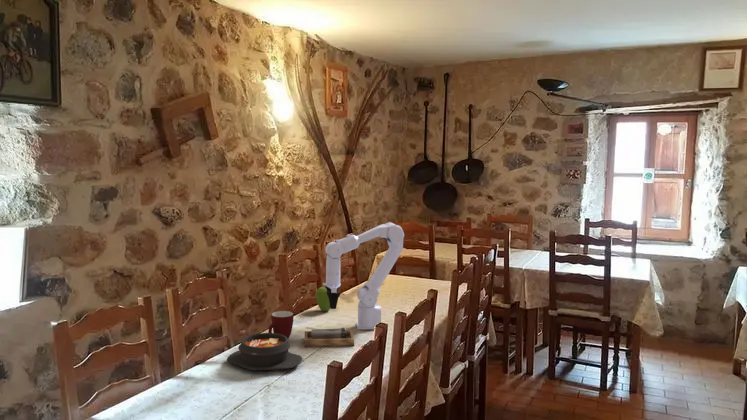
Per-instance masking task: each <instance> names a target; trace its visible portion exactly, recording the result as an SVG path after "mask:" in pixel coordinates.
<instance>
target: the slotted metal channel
mask: <svg viewBox="0 0 747 420" xmlns="http://www.w3.org/2000/svg"><path fill="white" fill-rule="evenodd" d="M310 331H311V339H343V338H346V337H347V328H346V327H341V328H314V329H313V328H311V330H310Z"/></svg>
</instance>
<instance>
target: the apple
mask: <svg viewBox="0 0 747 420" xmlns="http://www.w3.org/2000/svg"><path fill="white" fill-rule="evenodd" d="M326 291H327V289H326V286H320V287H319V288H317V290H316V292H315V296H316V297H315V299H316V303H317V305H318V308H319V309H320V311H321V312H329V311H330V310H331V308H330V303H329V298H328V295H327V293H326Z"/></svg>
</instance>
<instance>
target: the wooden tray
mask: <svg viewBox="0 0 747 420" xmlns="http://www.w3.org/2000/svg"><path fill="white" fill-rule="evenodd" d="M346 330H347V329H346ZM324 347H325V348H326V347H327V348H329V347H332V348H333V347H355V337H354V333H353V330H351V329H350V330H347V337H346V338H343V339H311V330H306V331H305V330H304V348H324Z"/></svg>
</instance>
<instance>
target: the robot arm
mask: <svg viewBox="0 0 747 420" xmlns="http://www.w3.org/2000/svg"><path fill="white" fill-rule="evenodd" d="M376 238H384V239H386V241H387V244H388V249H387V251H386V253H385V254H384V255H383V257H382V259H381V260H380V262H379V264H378V265H377V267H376V269H375V270H374V272H373V274H371V275H372V276H371V277H370V279H368V281H366V282H365V283H364V285H362V286H361V287H360V288H359V289H358V290H357V292H356V297H357V299H358V300H359V301H358V304H357V322H355V325H356V328H357V330H358V331H359V330H360V331H361V330H362V331H363V330H375V329H374V327H375V325H376V324H377V323H380V322H381V323H382V307H381V305H379V304H378V305H377V303H378V298H379V295H380V293H381V287H382V285H383V283H384V282H385V281H386V279H387V277H388V275H389V274H390V272H391V270H393V268H394V267H393V266H394V265H395V264H396V262H397V261H398V258H399V257H400V256H401V254H402V253H403V250H404V238H405V232H404V230H403V228H402V227H401V225H398V224H395V223H393V222H391V221H389V222H386V223H385V224H384V223H383V224H382V223H381V224H379V225H377V226H375V227H372V228H371V229H369V230H367V231H365V232H362V233H360V234H358V235H355V234H350V233H348V234H346V236H345V237H343V238H340V239H335V241H330V242H329V243H327V244H326V246H325V248H324V251H325V254H326V261H325V264H326V265H325V282H323V283H322V287H325V286H326V289H327V291H326V293H327V295H328V298H329V303H330V310H336V309H337V305H338V302H339V297H340V295H341V294H342V292H341V291H339V289H340V287H341V285H342V283H341V268H342V267H341V264H342V263H341V262H342V261H341V257H342V255H343V254H347V253H348V252H351V251H352V250H357V249H358V248H359V246H360V244H362V243H366V242H368V241H370V240H374V239H376Z"/></svg>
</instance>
